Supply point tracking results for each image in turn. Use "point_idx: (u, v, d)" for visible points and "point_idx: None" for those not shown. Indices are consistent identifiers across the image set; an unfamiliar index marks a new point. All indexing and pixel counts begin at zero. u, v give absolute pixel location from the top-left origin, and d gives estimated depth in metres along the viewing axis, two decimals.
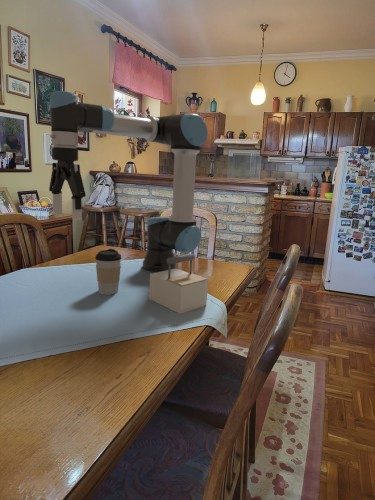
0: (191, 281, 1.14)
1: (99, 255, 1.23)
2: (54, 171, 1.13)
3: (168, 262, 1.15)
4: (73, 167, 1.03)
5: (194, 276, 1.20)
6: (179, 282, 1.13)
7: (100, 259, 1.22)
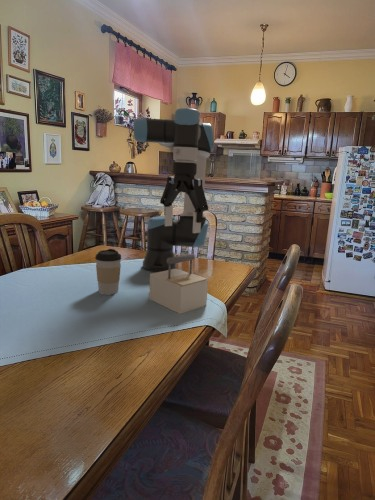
0: (191, 281, 1.14)
1: (99, 255, 1.23)
2: (169, 184, 1.16)
3: (168, 262, 1.15)
4: (197, 182, 1.07)
5: (194, 276, 1.20)
6: (179, 282, 1.13)
7: (100, 259, 1.22)
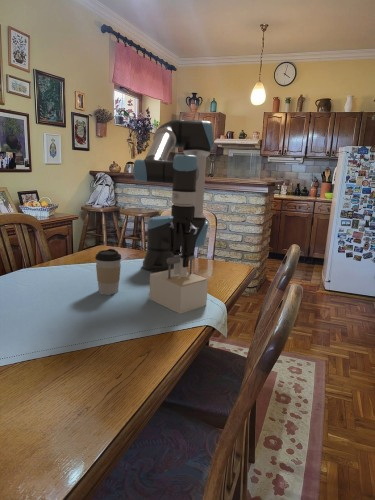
0: (191, 281, 1.14)
1: (99, 255, 1.23)
2: (170, 229, 1.18)
3: (168, 262, 1.15)
4: (193, 232, 1.11)
5: (194, 276, 1.20)
6: (179, 282, 1.13)
7: (100, 259, 1.22)
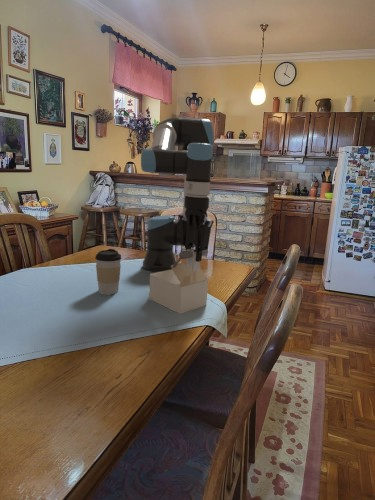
0: (192, 280, 1.14)
1: (99, 255, 1.23)
2: (183, 222, 1.13)
3: (180, 256, 1.10)
4: (208, 224, 1.06)
5: None
6: (181, 278, 1.12)
7: (100, 259, 1.22)
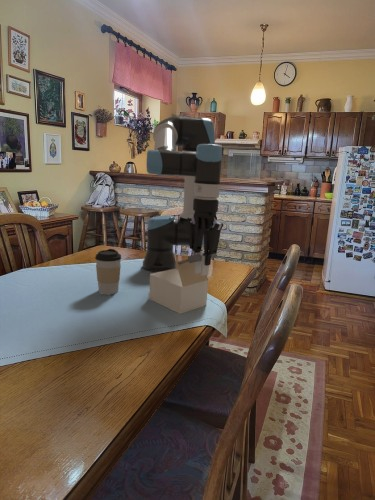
0: (193, 280, 1.14)
1: (99, 255, 1.23)
2: (191, 225, 1.11)
3: (189, 259, 1.07)
4: (217, 227, 1.03)
5: None
6: (183, 278, 1.11)
7: (100, 259, 1.22)
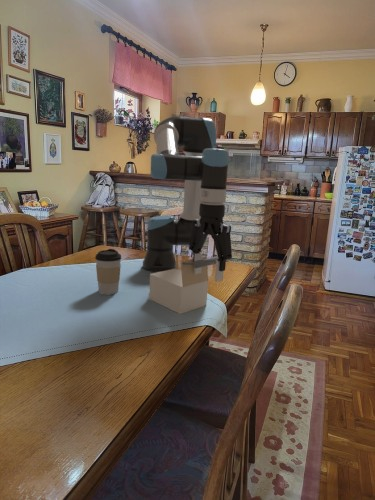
0: (194, 281, 1.13)
1: (99, 255, 1.23)
2: (195, 228, 1.10)
3: (194, 264, 1.06)
4: (226, 229, 1.01)
5: (203, 268, 1.16)
6: (185, 278, 1.11)
7: (100, 259, 1.22)
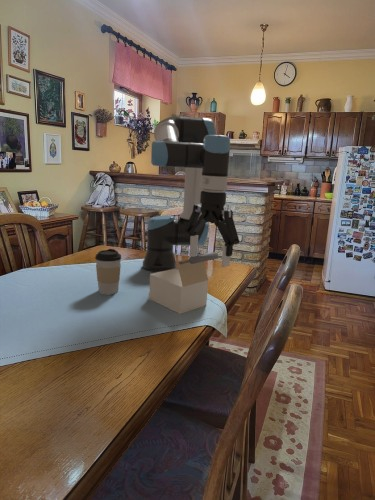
0: (193, 280, 1.14)
1: (99, 255, 1.23)
2: (195, 213, 1.09)
3: (190, 260, 1.07)
4: (228, 213, 1.00)
5: (201, 268, 1.17)
6: (184, 278, 1.11)
7: (100, 259, 1.22)
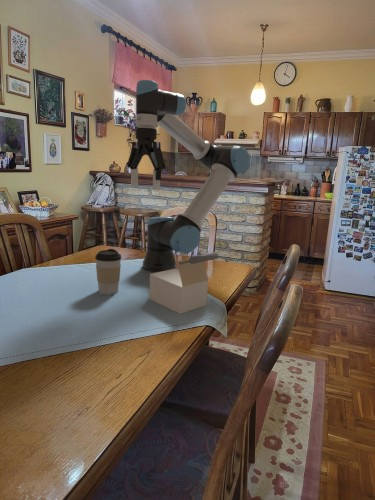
0: (193, 280, 1.14)
1: (99, 255, 1.23)
2: (134, 149, 1.33)
3: (190, 260, 1.07)
4: (155, 144, 1.23)
5: (201, 268, 1.17)
6: (184, 278, 1.11)
7: (100, 259, 1.22)
